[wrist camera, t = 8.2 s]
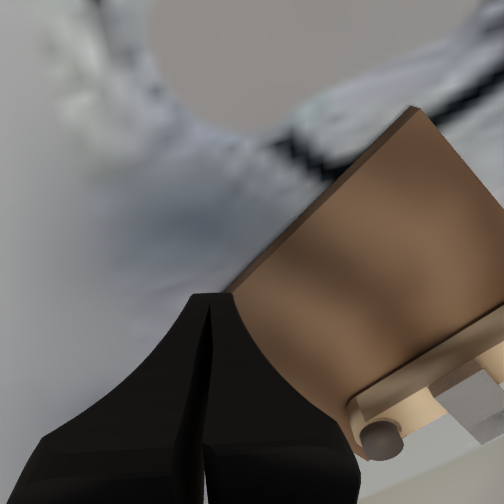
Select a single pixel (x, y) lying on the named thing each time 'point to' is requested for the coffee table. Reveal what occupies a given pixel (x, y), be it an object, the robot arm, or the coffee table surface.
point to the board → (376, 269)
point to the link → (422, 388)
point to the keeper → (472, 400)
